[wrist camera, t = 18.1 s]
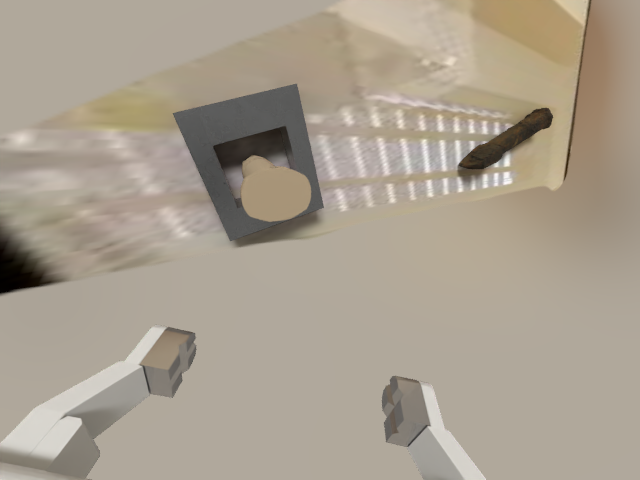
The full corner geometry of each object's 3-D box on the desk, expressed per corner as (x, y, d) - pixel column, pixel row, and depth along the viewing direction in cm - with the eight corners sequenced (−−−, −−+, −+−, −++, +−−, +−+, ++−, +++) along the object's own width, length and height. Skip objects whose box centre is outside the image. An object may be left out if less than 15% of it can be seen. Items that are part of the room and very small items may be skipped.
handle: (277, 182, 38) (311, 216, 26) (232, 185, 36) (244, 225, 24) (275, 147, 36) (311, 166, 24) (226, 149, 34) (237, 171, 22)
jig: (228, 229, 39) (230, 241, 35) (176, 113, 31) (172, 113, 27) (314, 199, 42) (323, 207, 38) (288, 86, 34) (296, 83, 30)
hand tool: (532, 107, 51) (559, 106, 47) (531, 127, 53) (557, 128, 49) (454, 151, 48) (476, 154, 44) (456, 170, 50) (477, 175, 46)
